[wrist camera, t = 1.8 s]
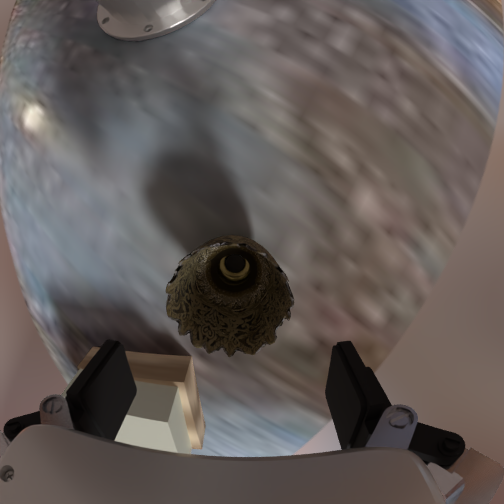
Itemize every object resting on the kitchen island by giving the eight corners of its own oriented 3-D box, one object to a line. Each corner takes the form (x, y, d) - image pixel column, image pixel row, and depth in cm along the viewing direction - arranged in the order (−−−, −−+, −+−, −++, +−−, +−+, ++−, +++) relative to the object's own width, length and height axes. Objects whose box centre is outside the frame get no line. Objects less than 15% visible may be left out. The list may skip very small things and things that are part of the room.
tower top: (80, 368, 22) (60, 395, 18) (178, 386, 22) (167, 422, 18) (109, 430, 25) (97, 455, 21) (191, 447, 25) (186, 476, 21)
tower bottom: (94, 344, 26) (77, 366, 22) (192, 353, 26) (184, 382, 22) (122, 411, 29) (112, 434, 25) (205, 422, 29) (201, 449, 25)
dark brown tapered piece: (248, 316, 24) (247, 375, 17) (176, 275, 23) (146, 321, 16) (296, 249, 23) (319, 288, 15) (220, 201, 21) (204, 217, 14)
